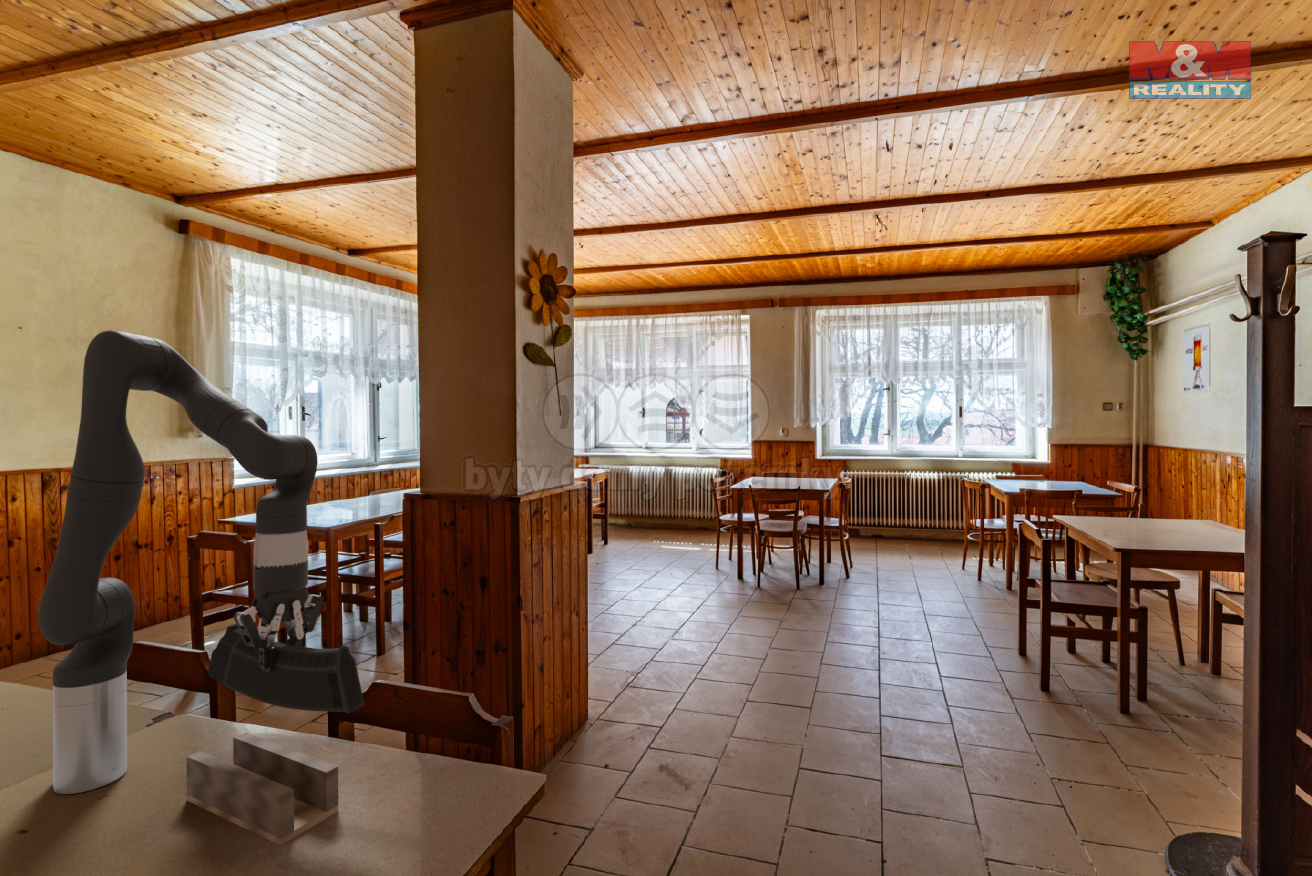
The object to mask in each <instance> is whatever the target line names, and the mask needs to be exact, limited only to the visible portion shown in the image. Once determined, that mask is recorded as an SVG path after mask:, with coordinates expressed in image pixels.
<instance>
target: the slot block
mask: <svg viewBox="0 0 1312 876" xmlns="http://www.w3.org/2000/svg"><path fill="white" fill-rule="evenodd" d="M232 742H233V743H232V744H233V745H232V747H233V749H232V751H233V755H232V758H233V759H232V763H231V762H229V761H227V760H224V759H221V758H219V757H217V756H214V755H212V754H209V753H207V752H204V751H202V750H198V751H197V752H195V753H194V752H193V753H192V754H190V755H187V756H186V801H187V802H189V803H192V804H194V805H195V806H197V807H199V808H200V809H203V810H205V811H208V812H209V813H211V814H214V815H216V816H218V817H220V818H222V819H224V820H226V821H228V822H230V823H232V824H234V825H236V826H238V827H241V828H242V829H245V830H247V831H249V832H250V833H251V832H252V833H253V834H255V835H257V836H259V837H261V838H264V839H265V840H268V841H270V842H272V843H274V844H276V845H278V846H279V847H280V846H283V845H285V844H286V843H288V842H289V841H292V840H294V838H296V837H298V836H301V834H303V833H304V832H306V831H308V830H309V829H312V828H313V827H315V826H316V825H318V824H320V823H321V822H323V821H325V820H327V819H329V818H330V817H331V816H333V815H335V814H336V813H338V812H339V766H338V765H336V764H333V763H330V762H328V761H326V760H322V759H320V758H317V757H315V756H311V755H309V754H305V753H303V752H300V751H297V750H295V749H292V748H290V747H286V746H284V745H282V744H279V743H275V742H272V741H270V740H267V739H265V738H263V737H262V738H261V737H259V736H257V735H254V734H250V733H248V732H243V733H240V734H238V735H236V736H233V738H232Z"/></svg>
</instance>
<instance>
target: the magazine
mask: <svg viewBox="0 0 1312 876" xmlns="http://www.w3.org/2000/svg"><path fill="white" fill-rule="evenodd" d="M216 644H217V645H216V647H215V648H214V649H213V650H212V651H211V656H210V660H209V665H208V668H207V669H208V670H207V676H209V678H210V679H213V680H214V681H216V682H217V683H219V684H221V685H223V686H224V687H226V688H227V693H230V692H232V691H235V692H236V693H239V694H241V695H244V696H246V697H247V698H250V699H253V700H256V701H258V702H261V703H263V704H264V703H265V704H268V705H270V706H275V707H276V706H277V707H281V708H284V709H285V708H286V709H291V710H299V711H306V712H307V711H309V712H328V713H329V712H331V713H332V712H333V713H335V712H339V713H346V714H349V713H353V712H356V711H357V710H359V709H361V708H362V707H363V706H364V704H365V701H364V697H363V692H362V691H363V690H362V686H361V682H360V677H359V676H360V675H359V673H358V668H357V663H356V660H355V658H354V656H353V655H352V654H351V653H350V648H349V646H348V645H341V646H338V647H337V648H315V647H308V646H307V647H306V646H302V647H299V646H292V645H287V643H282V642H280V641H279V642H278V641H275V640H274V645H273V647H275V668H274V670H273V671H270V672H267V671H263V670H262V668H260V667H259V648H254V647H252V646H247V645H245V643H244V640H243V638H242V636H241V634H240V631H239V629H238V627H237V624H236V623H233V624H230V625H228V626H227V627H226V630H225V632H224V635H223V636H222V637H220V639H219V640H218V643H216Z"/></svg>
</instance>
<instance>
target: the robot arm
mask: <svg viewBox="0 0 1312 876" xmlns="http://www.w3.org/2000/svg"><path fill="white" fill-rule="evenodd" d="M83 361H84V363H83V374H82V388H81V389H82V391H81V409H80V411H81V412H80V413H81V414H80V422H79V427H78V435H77V441H76V449H75V454H74V459H73V464H72V468H71V472H70V478H69V482H68V486H67V487H68V488H67V494H66V501H65V508H64V515H63V519H62V523H61V527H60V533H59V537H58V542H57V547H56V551H55V555H54V558H53V562H52V566H51V569H50V571H49V575H48V576H47V577H48V578H47V580H46V583H45V586H44V589H43V593H42V596H41V600H40V603H39V606H38V613H37V614H38V616H37V617H38V618H37V619H38V622H37V623H38V627H39V630H40V632H41V635H42V636H43V638H45V640H46V641H48V642H49V643H51V644H53V645H57V646H68V645H69V646H70V645H73V644H75V645H74V646H73V648H72V649H71V651H70V652H69V653H68V654H67V655H66V656H65V657H64V658H63V659H61V660H60V661H59V662H58V663H57V664H56V665H55V666H54V668H53V670H52V789H53V792H54V793H56V794H60V795H73V794H79V793H84V792H89V791H92V790H96V789H99V788H102V787H104V786H107V785H108V784H111V783H113V782H115V781H117V780H119V779H120V778H121V777H122V776H124V775H125V774H126V772H127V770H128V767H127V766H128V681H127V680H128V679H127V676H128V675H127V673H128V672H127V671H128V670H127V669H128V668H127V665H128V664H127V663H128V662H129V661H128V660H129V658H130V657H131V653H132V652H133V646H134V630H135V618H136V617H135V615H136V614H135V613H136V612H135V611H136V610H135V601H134V595H133V593H132V590H131V588H130V587H129V585H127V584H126V583H125V582H124V581H123V580H121V579H119V578H115V577H102V578H101V574H102V573H101V572H102V570H103V566H104V563H105V561H106V558H107V557H108V555H109V553H110V551H111V549H112V548H113V547H114V546H115V544H116V542H117V541H118V540H119V538H120V537H121V535H122V534H123V533H124V531H125V530H126V528H127V527H128V526H129V524H130V523H131V521H132V520H133V518H134V517H135V514H136V513H137V511H138V509H139V505H140V502H141V497H142V491H143V488H144V487H143V486H144V480H145V474H146V473H145V471H146V470H145V468H146V467H145V464H144V460H143V458H142V455H141V453H140V450H139V449H138V446H137V445H136V443H135V441H134V438H133V437H132V434H131V432H130V430H129V427H128V423H127V408H128V407H127V406H128V398H129V393H130V390H133V391H141V392H143V391H145V392H147V391H148V392H149V391H151V392H155V393H158V394H161V396H162V395H163V396H165V397H167V398H170V399H171V400H174V401H175V402H177V403H178V404H179V405H181V406H182V408H184V411H185V413H186V415H187V417H188V419H189V421H190V422H191V423H192V425H193V426H194V427H196V429H198V430H199V431H200V432H201V433H202V434H204V435H205V436H206V437H208V438H210V439H211V440H214V441H215V442H216V443H218V444H219V445H221V446H222V447H224V448H225V449H227V450H228V451H229V454H230V455H232V457H233V458H234V459H235V460H236V461H237V462H238V464H239V465H240V467H241V468H242V469H243V470H245V471H246V473H249V475H252V476H254V477H255V478H259V479H262V480H267V481H272V480H275V483H274V486H273V487H272V488H273V489H272V490H271V491H270V492H269V493H268V494H266V495H263V496H261V497H260V498H259V499H257V503H256V505H255V506H256V508H255V538H254V543H253V587H252V588H253V593H254V599H253V601H252V603H251V606H250V607H248V608H247V609H245V610H244V611H242V612H241V611H237V612H235V613H234V615H233V620H234V622H235V624H237V627H238V629H239V631H240V634H241V636H242V638H243V640H244V643H245V645H247V646H252V647H254V648H259V667H260V668H262V670H263V671H267V672H270V671H273V670H274V668H275V647H273V645H274V641H275V639H276V636H277V634H278V632H279V630H280V626H281V624H283V625H284V626H285V630H286V635H287V637H288V638H286V645H292V646H299V647H303V639H304V636H305V635H306V634H308V633H312V632H313V631H314V629H315V627H316V623H317V620H318V617H319V614H320V611H321V609H322V607H323V603H324V600H325V599H324V596H323V595H317V594H312V593H311V594H309V592H308V590H307V586H308V585H309V584H308V583H309V539H308V532H307V529H308V527H307V525H308V523H307V522H308V512H307V511H308V510H307V505H308V502H309V498H310V496H311V492H312V489H313V485H314V481H315V478H316V473H317V469H318V454H317V449H316V448H315V445H314V443H312V441H311V440H310V439H309V438H307V437H305V436H303V435H298V434H297V435H295V434H287V435H285V434H282V435H281V434H276V435H275V434H272V433H269V432H268V429H269V428H268V424H267V422H266V420H265V419H264V418H263V417H262V416H261V415H259V414H258V413H256V412H255V411H254V410H252V409H250V408H249V407H247V406H245V405H244V404H243V403H241V402H239V401H238V400H236V399H235V398H233V397H232V396H230V395H229V394H227V393H226V392H224V391H222V390H221V389H220V388H219V387H217V386H216V385H214V383H212V382H211V381H209V380H208V379H207V378H206V377H205V376H203V375H202V374H201V373H200V372H199V371H198V370H197V369H196V367H195V368H194V366H192V365H191V364H190V363H189V362H188V361H187V360H186V359H185V358H184V357H183V356H182V355H181V353H179V352H178V351H177V350H175V349H174V348H173V347H172V346H171V345H169V344H168V343H167V342H165V341H163V340H161V339H159V338H155V337H151V336H145V335H140V334H135V333H130V332H125V331H119V330H111V329H109V330H104V331H101V332H99V333H98V334H96V335H95V336H94V337H93V338H92V339H91V341H90V342H89V344H88V346H87V349H86V351H85V356H84V360H83ZM302 609H303V612H302ZM256 615H257V616H258V617H259V621H258V626H256V624H255V622H256V621H257V619H256Z"/></svg>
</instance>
